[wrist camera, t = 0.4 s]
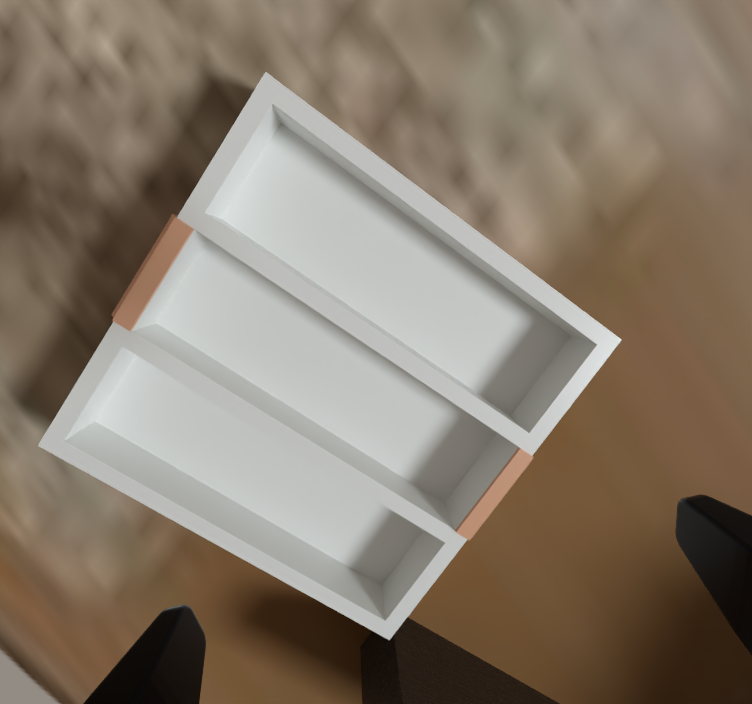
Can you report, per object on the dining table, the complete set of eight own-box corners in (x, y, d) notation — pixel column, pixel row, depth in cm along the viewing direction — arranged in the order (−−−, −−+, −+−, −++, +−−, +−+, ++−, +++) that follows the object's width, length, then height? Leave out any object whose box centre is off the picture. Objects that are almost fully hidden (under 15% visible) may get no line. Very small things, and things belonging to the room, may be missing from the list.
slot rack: (384, 597, 26) (389, 643, 23) (72, 419, 23) (28, 443, 20) (587, 330, 23) (624, 340, 20) (271, 95, 21) (257, 64, 17)
